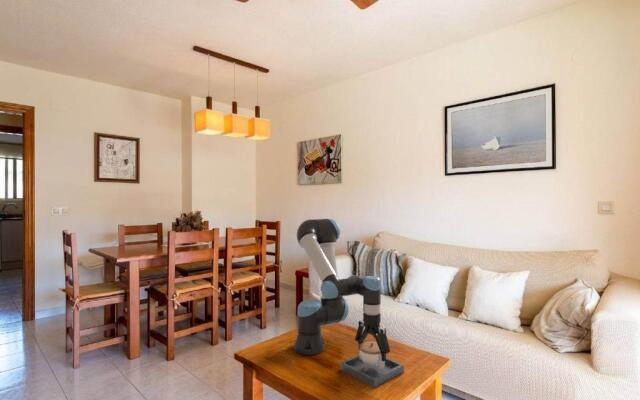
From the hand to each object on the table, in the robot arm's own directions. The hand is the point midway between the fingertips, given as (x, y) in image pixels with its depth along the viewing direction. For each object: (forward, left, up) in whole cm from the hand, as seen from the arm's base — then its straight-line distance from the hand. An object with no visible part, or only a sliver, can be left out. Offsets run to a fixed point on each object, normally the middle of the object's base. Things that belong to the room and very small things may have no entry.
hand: (371, 362), depth 152 cm
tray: (0, 0, -3) cm, 3 cm away
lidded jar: (0, 0, -1) cm, 1 cm away
